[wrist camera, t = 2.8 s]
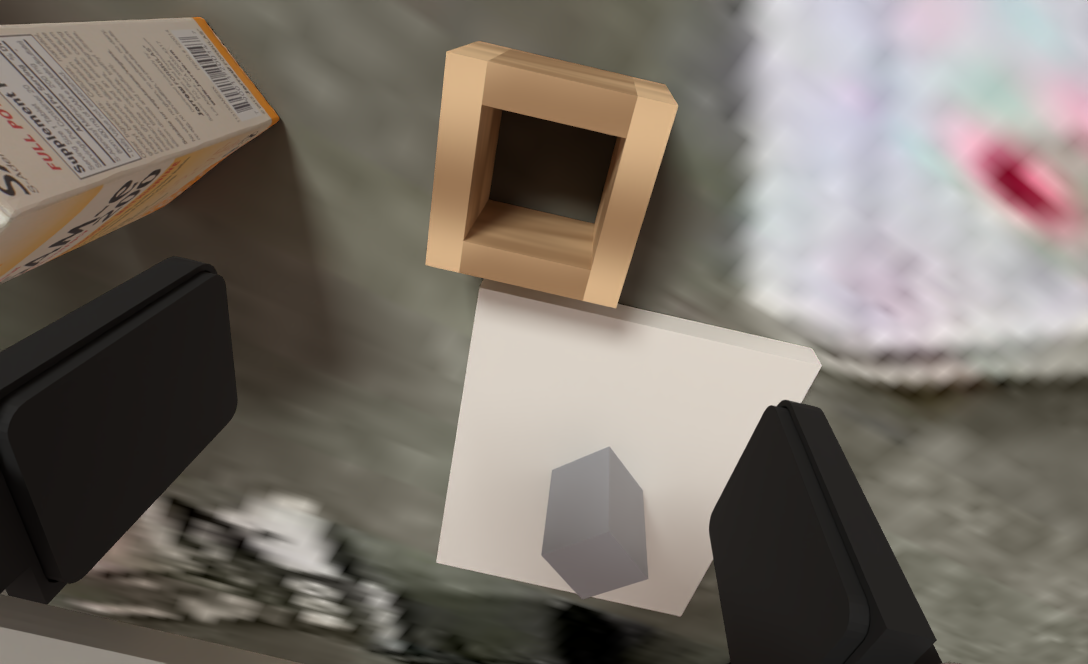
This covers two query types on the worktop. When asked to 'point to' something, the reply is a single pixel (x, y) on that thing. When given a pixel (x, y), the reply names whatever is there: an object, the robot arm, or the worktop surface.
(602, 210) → the collar
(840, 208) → the worktop surface
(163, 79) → the supplement box
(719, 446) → the base plate
